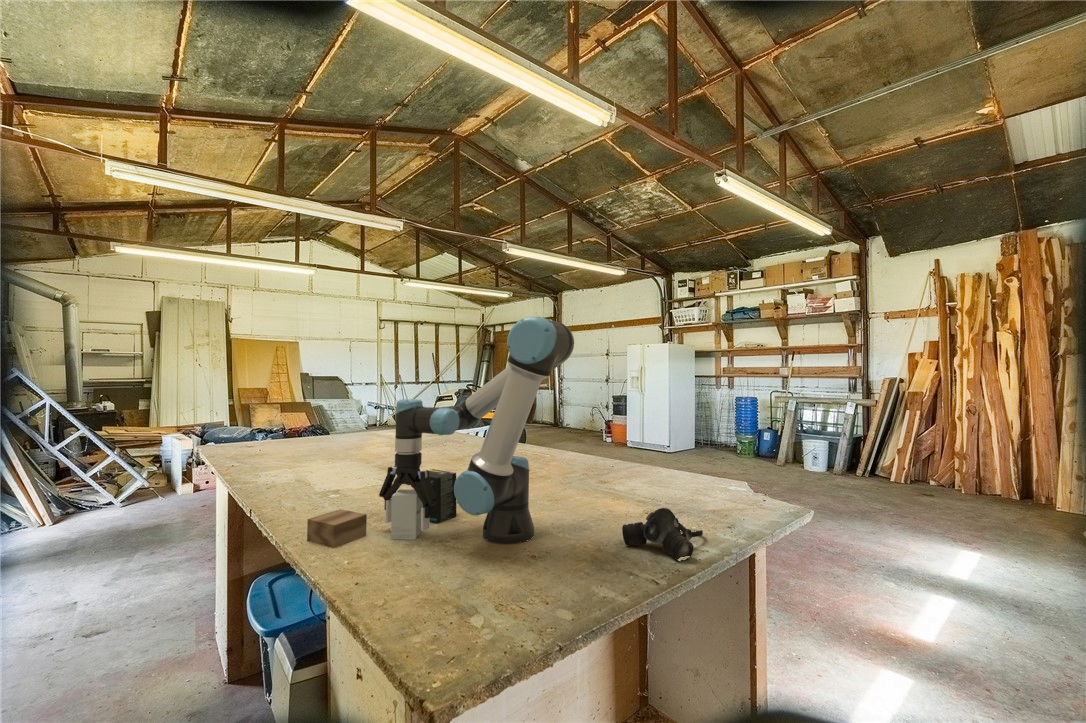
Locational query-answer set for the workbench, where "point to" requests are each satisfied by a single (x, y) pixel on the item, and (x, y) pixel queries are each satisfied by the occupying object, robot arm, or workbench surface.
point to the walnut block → (336, 527)
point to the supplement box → (406, 515)
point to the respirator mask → (661, 533)
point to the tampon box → (443, 495)
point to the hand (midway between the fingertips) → (407, 525)
